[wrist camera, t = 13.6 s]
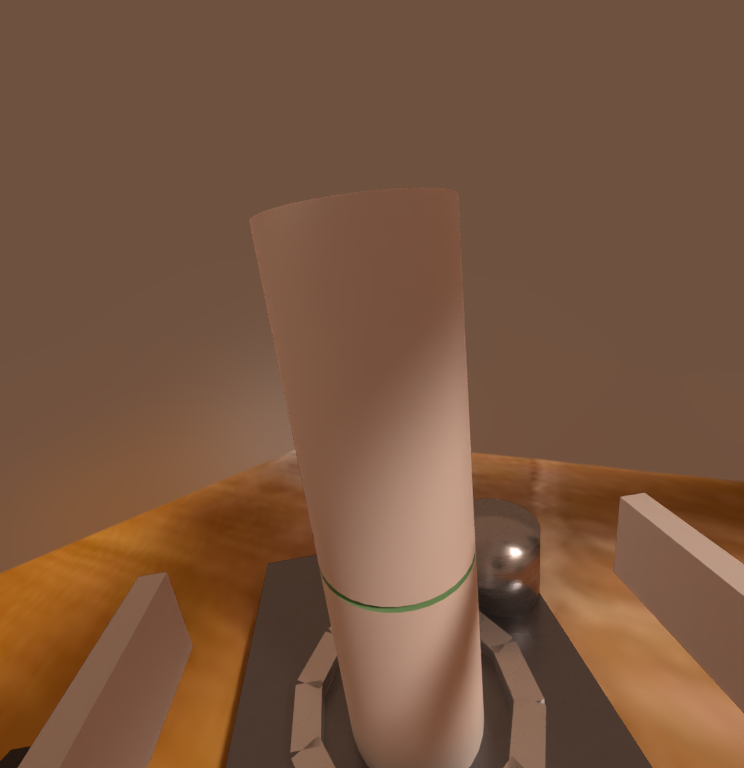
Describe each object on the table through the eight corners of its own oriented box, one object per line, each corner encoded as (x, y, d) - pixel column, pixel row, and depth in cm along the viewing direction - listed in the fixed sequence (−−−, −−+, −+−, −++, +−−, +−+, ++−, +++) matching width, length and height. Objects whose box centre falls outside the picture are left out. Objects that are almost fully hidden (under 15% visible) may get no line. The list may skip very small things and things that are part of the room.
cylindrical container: (455, 633, 25) (424, 213, 17) (509, 770, 18) (496, 177, 10) (345, 659, 24) (263, 232, 16) (358, 812, 17) (228, 205, 10)
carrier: (500, 533, 34) (498, 452, 32) (699, 843, 16) (730, 706, 13) (270, 574, 33) (250, 492, 31) (195, 964, 15) (128, 836, 12)
